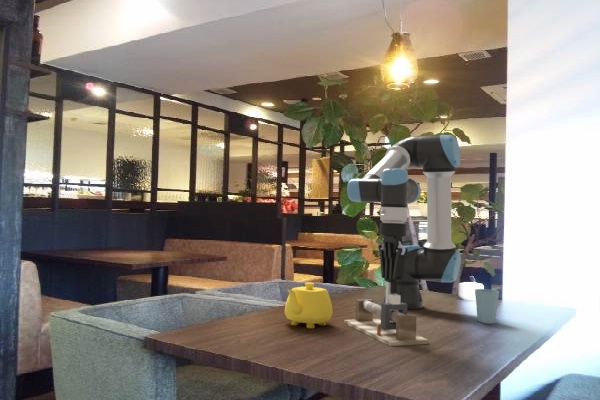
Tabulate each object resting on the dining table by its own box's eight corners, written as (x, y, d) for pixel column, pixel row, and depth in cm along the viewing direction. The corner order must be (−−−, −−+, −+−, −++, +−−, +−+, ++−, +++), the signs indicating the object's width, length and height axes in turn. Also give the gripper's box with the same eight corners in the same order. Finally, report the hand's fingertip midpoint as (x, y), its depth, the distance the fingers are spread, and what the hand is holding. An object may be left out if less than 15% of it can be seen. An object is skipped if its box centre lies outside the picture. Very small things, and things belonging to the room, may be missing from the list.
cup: (503, 323, 173) (504, 291, 173) (486, 324, 170) (486, 292, 170) (487, 319, 180) (487, 288, 180) (469, 320, 177) (470, 289, 177)
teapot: (341, 323, 165) (343, 282, 165) (304, 334, 149) (305, 289, 149) (306, 317, 173) (307, 278, 173) (267, 326, 157) (268, 283, 157)
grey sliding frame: (380, 328, 148) (381, 294, 148) (402, 327, 150) (403, 293, 151) (384, 329, 146) (385, 295, 146) (406, 328, 148) (407, 295, 148)
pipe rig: (344, 323, 165) (344, 299, 165) (377, 321, 169) (378, 298, 170) (389, 346, 138) (390, 317, 138) (428, 343, 142) (429, 315, 142)
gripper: (371, 221, 156) (368, 301, 155) (393, 222, 143) (390, 309, 143) (393, 222, 158) (390, 300, 158) (416, 223, 146) (414, 308, 145)
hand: (390, 304), depth 150 cm, fingers closed
